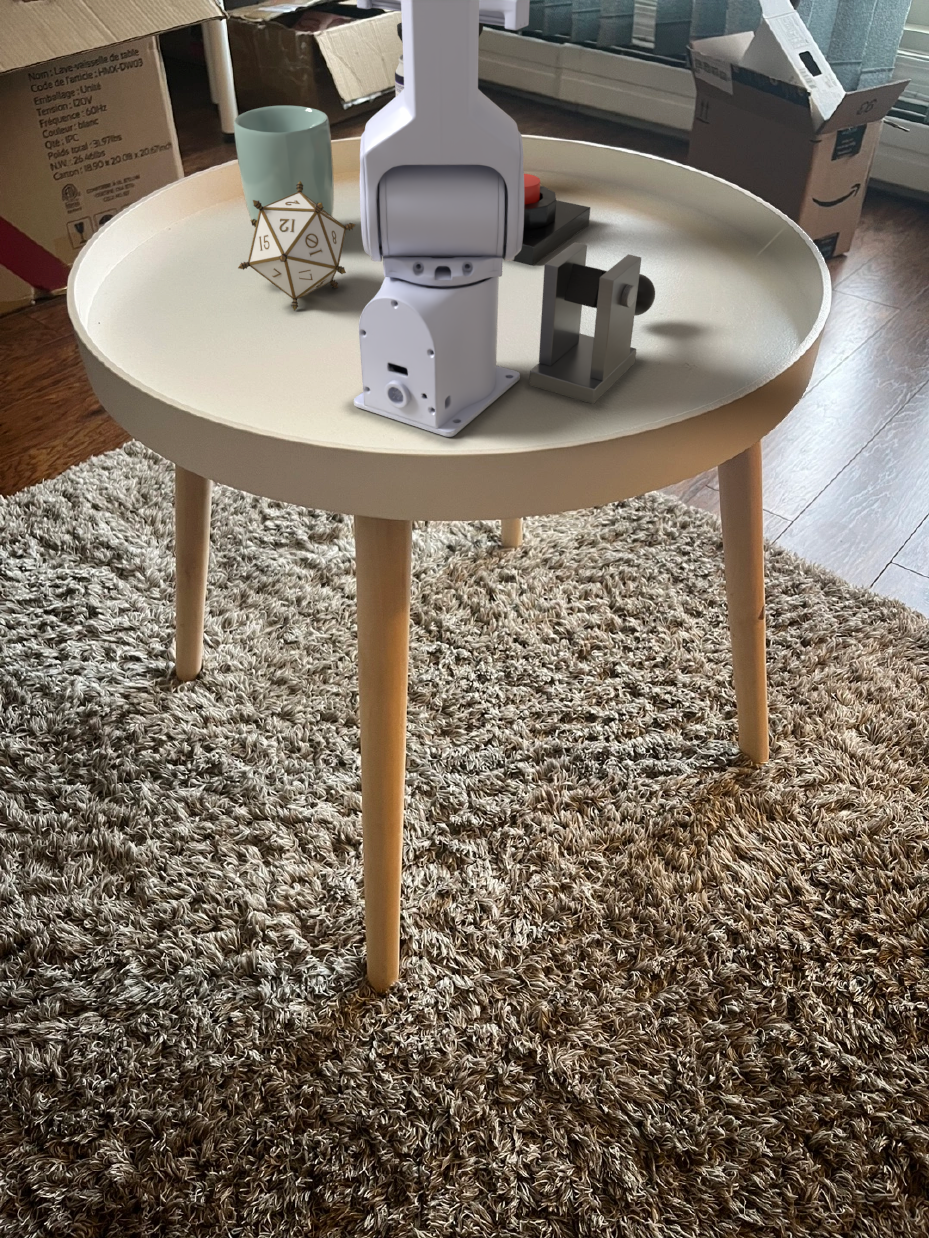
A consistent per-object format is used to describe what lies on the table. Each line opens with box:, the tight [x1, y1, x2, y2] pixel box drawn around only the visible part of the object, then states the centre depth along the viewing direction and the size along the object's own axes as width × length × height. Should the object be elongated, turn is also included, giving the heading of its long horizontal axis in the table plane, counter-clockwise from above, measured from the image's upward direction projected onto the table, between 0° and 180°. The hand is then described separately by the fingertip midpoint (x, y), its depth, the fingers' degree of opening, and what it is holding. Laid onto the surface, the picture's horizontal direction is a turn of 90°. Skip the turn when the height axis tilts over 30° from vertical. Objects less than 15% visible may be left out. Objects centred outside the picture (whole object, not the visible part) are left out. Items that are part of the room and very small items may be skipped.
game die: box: [237, 181, 356, 312], centre depth 78 cm, size 9×8×10 cm
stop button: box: [524, 173, 541, 204], centre depth 88 cm, size 4×4×2 cm
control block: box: [503, 185, 591, 267], centre depth 90 cm, size 11×9×4 cm
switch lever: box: [564, 263, 656, 317], centre depth 71 cm, size 12×3×3 cm, turn 149°
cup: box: [233, 105, 335, 229], centre depth 87 cm, size 8×8×10 cm
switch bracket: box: [528, 241, 642, 405], centre depth 69 cm, size 7×6×8 cm
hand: (441, 118), depth 82 cm, fingers closed
